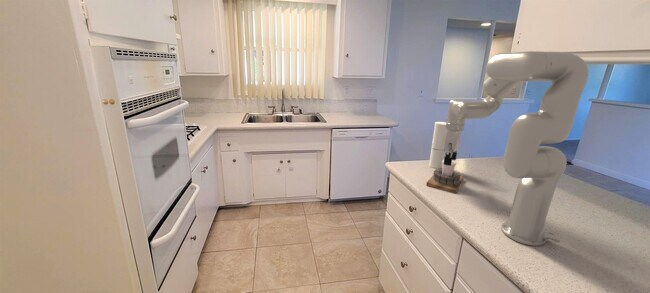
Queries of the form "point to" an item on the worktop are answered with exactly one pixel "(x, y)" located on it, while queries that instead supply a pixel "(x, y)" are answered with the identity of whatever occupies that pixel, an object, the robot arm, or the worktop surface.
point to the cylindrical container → (438, 145)
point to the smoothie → (448, 168)
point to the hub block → (445, 181)
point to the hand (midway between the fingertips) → (449, 162)
